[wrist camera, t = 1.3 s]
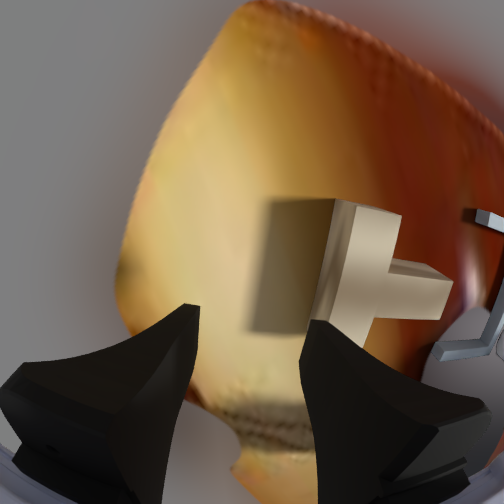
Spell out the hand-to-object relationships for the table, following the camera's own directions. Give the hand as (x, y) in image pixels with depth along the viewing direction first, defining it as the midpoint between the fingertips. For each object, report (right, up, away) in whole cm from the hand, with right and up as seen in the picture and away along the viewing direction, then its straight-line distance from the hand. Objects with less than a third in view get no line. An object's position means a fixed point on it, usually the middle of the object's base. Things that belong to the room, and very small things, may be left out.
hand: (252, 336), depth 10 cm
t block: (+9, +1, +9) cm, 13 cm away
